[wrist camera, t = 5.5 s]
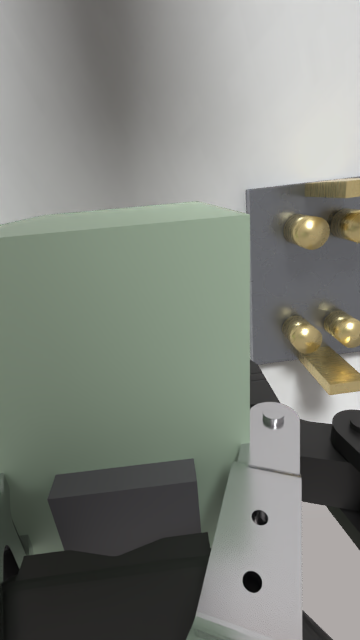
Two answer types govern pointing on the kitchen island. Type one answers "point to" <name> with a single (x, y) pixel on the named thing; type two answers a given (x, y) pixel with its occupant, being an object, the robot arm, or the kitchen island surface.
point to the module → (123, 372)
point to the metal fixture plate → (306, 278)
